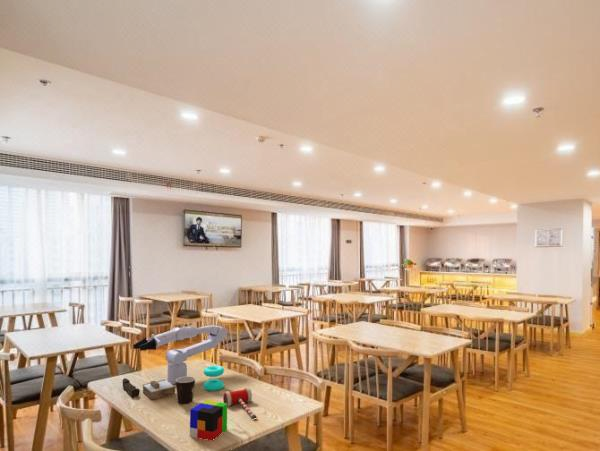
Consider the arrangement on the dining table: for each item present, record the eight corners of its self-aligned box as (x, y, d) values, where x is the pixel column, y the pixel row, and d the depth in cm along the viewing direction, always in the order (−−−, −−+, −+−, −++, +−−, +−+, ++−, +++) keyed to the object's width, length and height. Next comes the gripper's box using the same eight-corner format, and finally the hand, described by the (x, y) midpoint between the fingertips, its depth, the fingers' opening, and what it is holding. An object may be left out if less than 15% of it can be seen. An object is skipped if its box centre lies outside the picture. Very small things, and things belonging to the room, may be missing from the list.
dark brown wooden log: (139, 396, 191) (140, 386, 191) (131, 398, 188) (131, 388, 188) (129, 385, 206) (129, 376, 206) (120, 387, 203) (121, 377, 203)
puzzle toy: (189, 436, 151) (190, 409, 152) (205, 425, 160) (205, 399, 161) (212, 441, 147) (212, 413, 148) (226, 429, 157) (227, 403, 157)
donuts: (222, 371, 198) (201, 371, 197) (222, 391, 197) (201, 391, 197) (225, 364, 208) (206, 365, 207) (225, 384, 207) (205, 384, 207)
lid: (165, 381, 202) (165, 376, 202) (174, 387, 193) (175, 382, 194) (143, 386, 195) (143, 380, 195) (152, 393, 186) (152, 387, 186)
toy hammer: (267, 417, 169) (267, 402, 169) (241, 423, 163) (241, 407, 163) (246, 399, 188) (247, 385, 189) (222, 404, 183) (222, 389, 183)
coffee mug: (184, 396, 190) (184, 375, 191) (198, 400, 186) (199, 378, 187) (166, 405, 180) (166, 382, 180) (181, 409, 176) (181, 385, 176)
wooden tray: (164, 387, 203) (164, 379, 203) (175, 394, 193) (175, 386, 193) (142, 392, 195) (142, 384, 196) (152, 400, 186) (152, 391, 186)
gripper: (155, 330, 213) (129, 338, 203) (168, 332, 203) (141, 340, 193) (157, 343, 213) (131, 352, 203) (170, 346, 203) (144, 355, 193)
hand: (136, 347), depth 198 cm, fingers open, 7 cm apart
